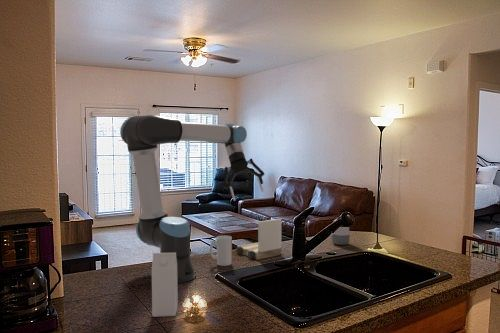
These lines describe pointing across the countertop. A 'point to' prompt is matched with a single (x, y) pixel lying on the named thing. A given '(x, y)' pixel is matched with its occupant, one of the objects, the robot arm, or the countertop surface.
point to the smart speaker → (341, 236)
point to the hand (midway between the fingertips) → (248, 195)
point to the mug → (222, 250)
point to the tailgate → (269, 235)
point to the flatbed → (255, 251)
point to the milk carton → (164, 284)
